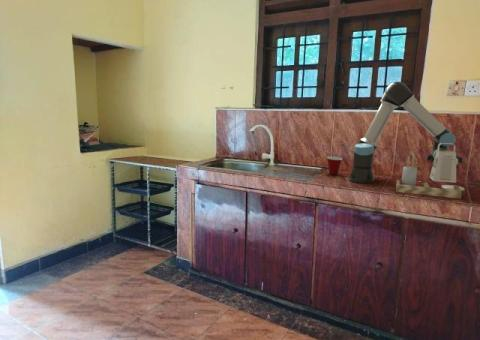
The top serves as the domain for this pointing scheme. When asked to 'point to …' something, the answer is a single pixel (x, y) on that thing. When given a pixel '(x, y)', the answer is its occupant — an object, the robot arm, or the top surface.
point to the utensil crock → (409, 173)
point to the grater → (444, 165)
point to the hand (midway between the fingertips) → (446, 161)
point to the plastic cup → (334, 164)
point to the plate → (451, 187)
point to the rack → (429, 190)
